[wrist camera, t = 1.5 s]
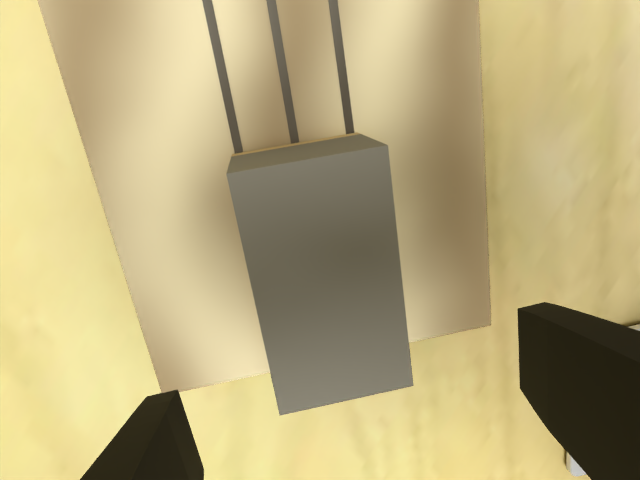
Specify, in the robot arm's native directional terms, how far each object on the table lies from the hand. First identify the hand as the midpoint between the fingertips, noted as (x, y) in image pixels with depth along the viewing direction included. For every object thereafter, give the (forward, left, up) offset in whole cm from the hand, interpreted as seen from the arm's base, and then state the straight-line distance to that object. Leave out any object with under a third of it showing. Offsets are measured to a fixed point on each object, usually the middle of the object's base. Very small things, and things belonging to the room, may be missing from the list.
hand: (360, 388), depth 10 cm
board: (0, -4, -10) cm, 10 cm away
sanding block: (0, 0, -9) cm, 9 cm away
